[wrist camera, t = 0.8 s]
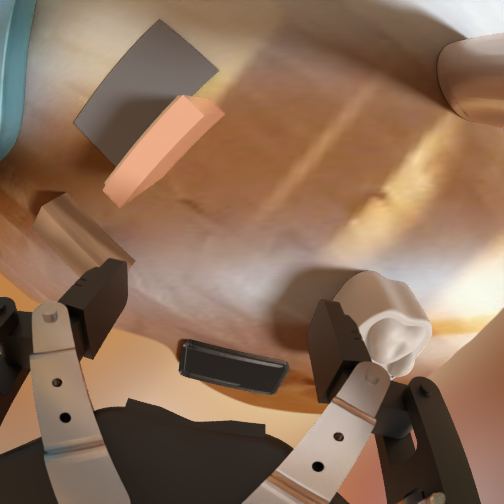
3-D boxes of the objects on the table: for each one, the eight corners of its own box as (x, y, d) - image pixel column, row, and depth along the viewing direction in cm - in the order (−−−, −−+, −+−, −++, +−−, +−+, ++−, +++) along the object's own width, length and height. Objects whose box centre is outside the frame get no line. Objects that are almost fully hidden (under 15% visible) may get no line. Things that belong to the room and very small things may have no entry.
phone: (183, 341, 37) (291, 366, 38) (185, 335, 38) (291, 360, 39) (177, 375, 40) (273, 396, 41) (179, 369, 41) (273, 390, 42)
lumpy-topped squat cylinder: (420, 288, 32) (449, 334, 24) (367, 358, 38) (380, 406, 30) (354, 263, 31) (376, 313, 23) (304, 344, 37) (309, 397, 29)
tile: (208, 97, 24) (179, 91, 16) (225, 113, 24) (204, 115, 16) (145, 163, 27) (99, 187, 19) (160, 178, 28) (120, 208, 20)
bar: (67, 191, 29) (41, 206, 24) (136, 260, 32) (118, 283, 28) (56, 211, 30) (32, 227, 25) (121, 276, 34) (104, 299, 29)
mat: (160, 20, 20) (159, 19, 20) (219, 70, 22) (218, 70, 22) (75, 122, 25) (73, 123, 24) (123, 172, 27) (121, 173, 27)
